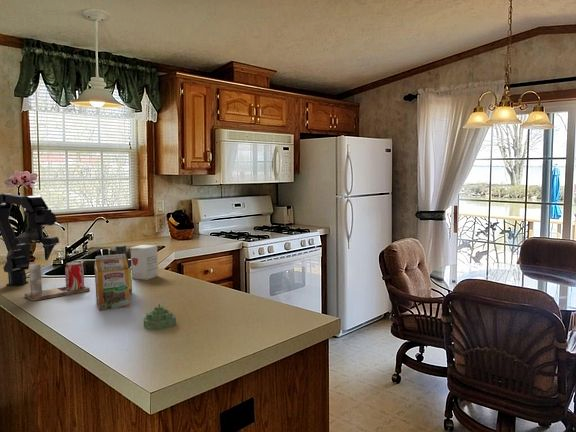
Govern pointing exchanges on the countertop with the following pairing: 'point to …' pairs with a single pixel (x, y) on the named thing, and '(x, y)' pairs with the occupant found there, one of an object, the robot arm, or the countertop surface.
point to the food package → (112, 282)
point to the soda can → (74, 276)
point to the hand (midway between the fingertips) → (37, 260)
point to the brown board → (37, 286)
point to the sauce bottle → (122, 250)
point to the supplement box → (144, 262)
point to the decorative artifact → (159, 319)
